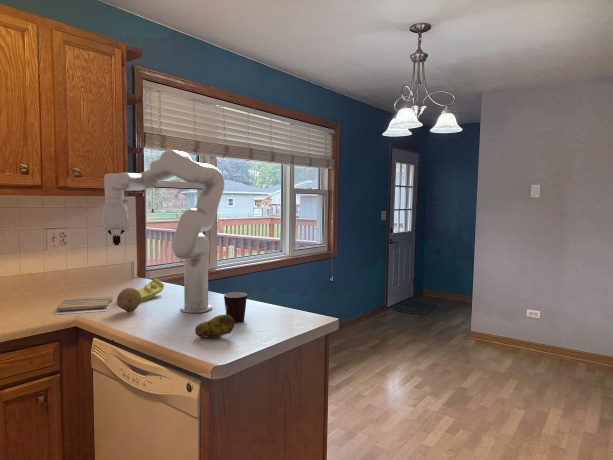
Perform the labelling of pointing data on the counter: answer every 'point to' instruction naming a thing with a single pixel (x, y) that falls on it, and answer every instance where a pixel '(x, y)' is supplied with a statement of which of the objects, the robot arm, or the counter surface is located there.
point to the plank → (83, 305)
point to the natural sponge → (129, 299)
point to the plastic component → (151, 290)
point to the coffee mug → (235, 305)
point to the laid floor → (85, 300)
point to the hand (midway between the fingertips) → (116, 245)
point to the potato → (216, 326)
